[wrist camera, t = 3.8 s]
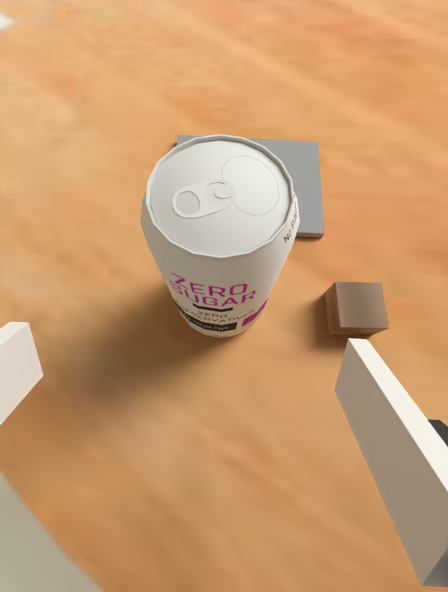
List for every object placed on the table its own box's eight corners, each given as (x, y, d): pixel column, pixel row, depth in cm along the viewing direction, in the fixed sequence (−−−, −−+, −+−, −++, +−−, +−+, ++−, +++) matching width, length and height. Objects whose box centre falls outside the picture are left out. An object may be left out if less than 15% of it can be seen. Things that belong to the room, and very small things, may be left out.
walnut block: (365, 294, 28) (381, 283, 25) (371, 335, 27) (388, 328, 24) (323, 293, 28) (335, 282, 25) (327, 334, 27) (340, 327, 24)
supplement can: (243, 247, 30) (264, 108, 16) (277, 321, 27) (338, 236, 13) (167, 273, 29) (114, 150, 14) (194, 352, 26) (163, 297, 12)
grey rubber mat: (315, 147, 34) (317, 141, 33) (321, 237, 30) (324, 233, 29) (179, 140, 34) (177, 135, 33) (166, 229, 30) (165, 225, 29)
